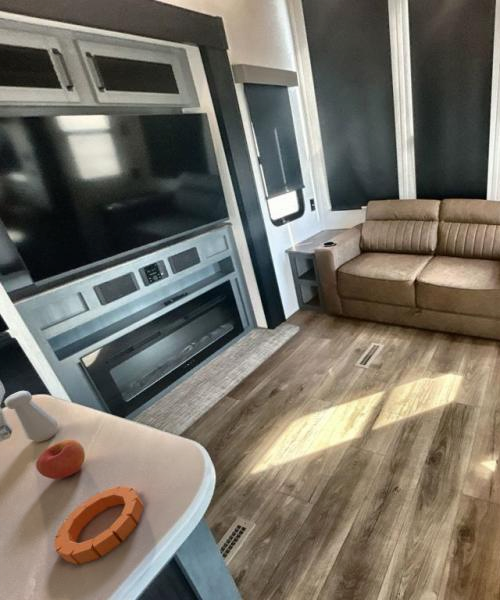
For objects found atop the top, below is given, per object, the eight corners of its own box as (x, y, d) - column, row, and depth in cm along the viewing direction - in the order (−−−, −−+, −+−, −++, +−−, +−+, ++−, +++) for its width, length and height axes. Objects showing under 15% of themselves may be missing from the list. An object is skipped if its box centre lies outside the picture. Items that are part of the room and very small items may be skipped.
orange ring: (49, 575, 59) (39, 565, 57) (84, 508, 69) (76, 498, 68) (129, 549, 61) (121, 539, 60) (151, 488, 71) (144, 478, 70)
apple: (86, 451, 82) (66, 426, 78) (97, 466, 78) (78, 440, 74) (45, 477, 77) (23, 451, 73) (55, 493, 73) (32, 467, 69)
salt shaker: (31, 437, 88) (-3, 397, 82) (60, 422, 92) (30, 383, 85) (33, 449, 84) (-2, 408, 78) (63, 433, 88) (32, 393, 82)
